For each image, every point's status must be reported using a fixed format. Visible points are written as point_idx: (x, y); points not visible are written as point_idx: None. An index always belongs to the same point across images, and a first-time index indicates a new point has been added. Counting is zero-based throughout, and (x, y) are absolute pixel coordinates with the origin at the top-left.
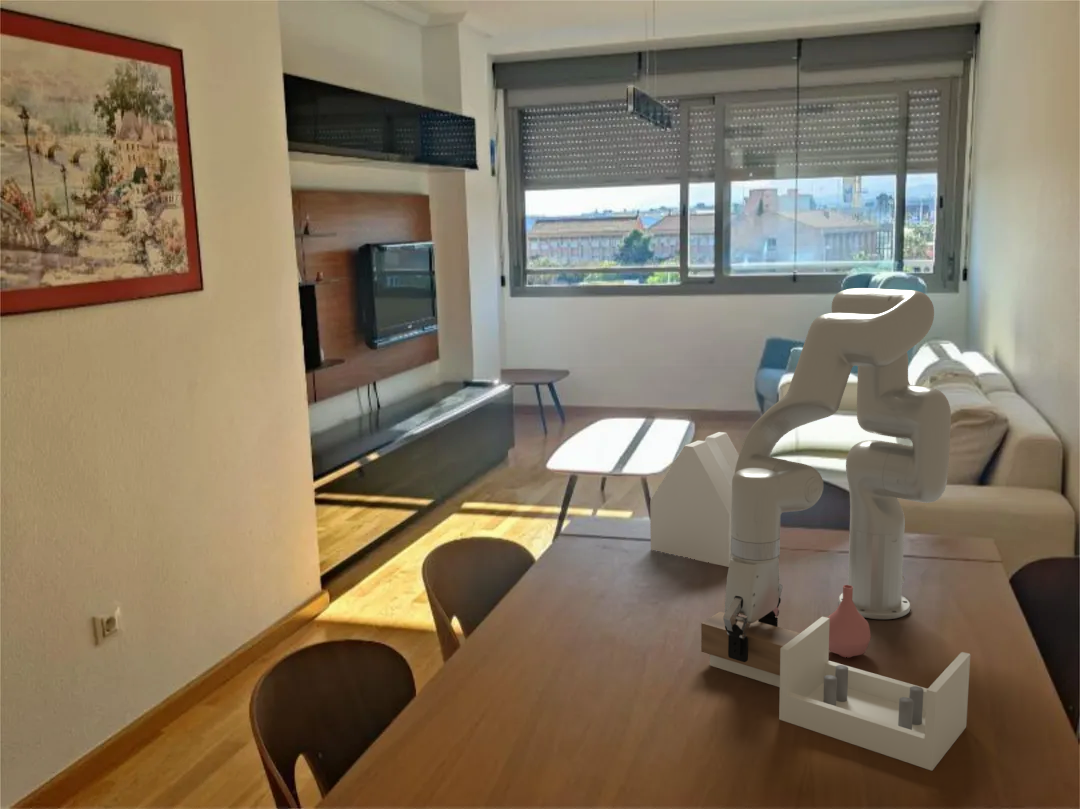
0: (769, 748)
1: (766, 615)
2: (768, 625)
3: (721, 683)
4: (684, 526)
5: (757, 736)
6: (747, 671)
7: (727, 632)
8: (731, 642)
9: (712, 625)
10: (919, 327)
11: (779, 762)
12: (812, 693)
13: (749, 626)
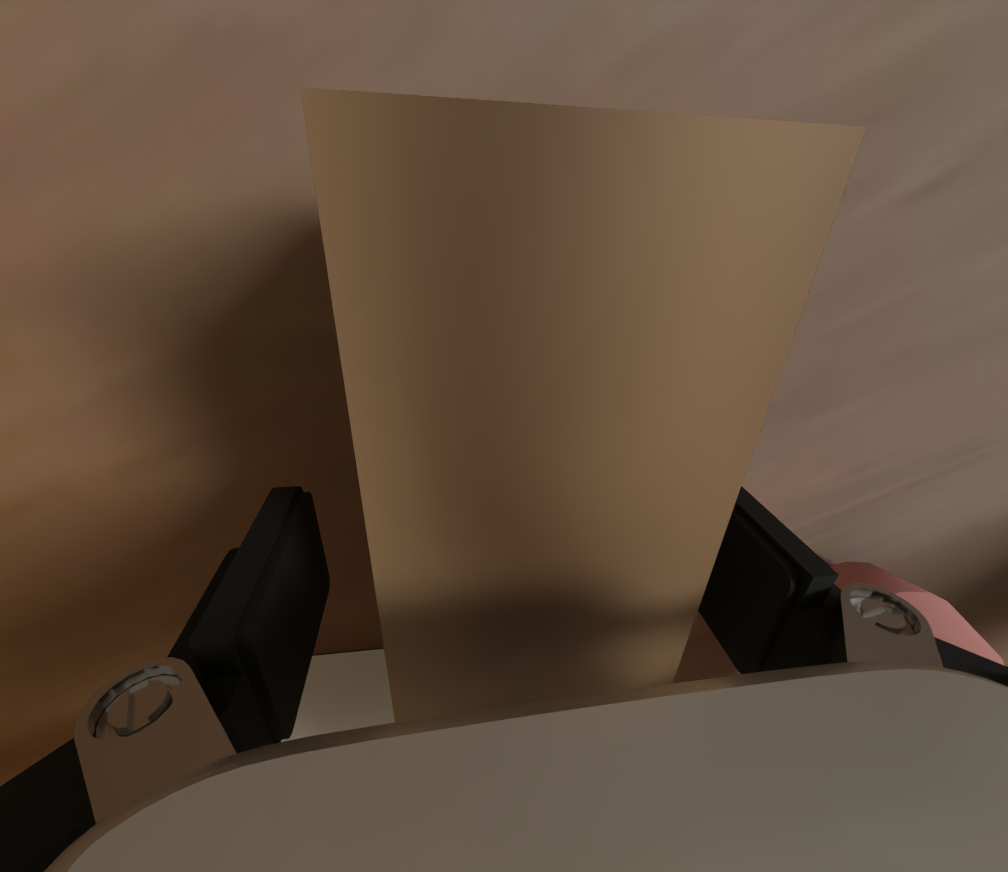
0: (39, 723)
1: (788, 639)
2: (664, 656)
3: (289, 380)
4: None
5: (58, 675)
6: None
7: (89, 711)
8: (187, 631)
9: (360, 297)
10: None
11: (7, 765)
12: None
13: (579, 585)
